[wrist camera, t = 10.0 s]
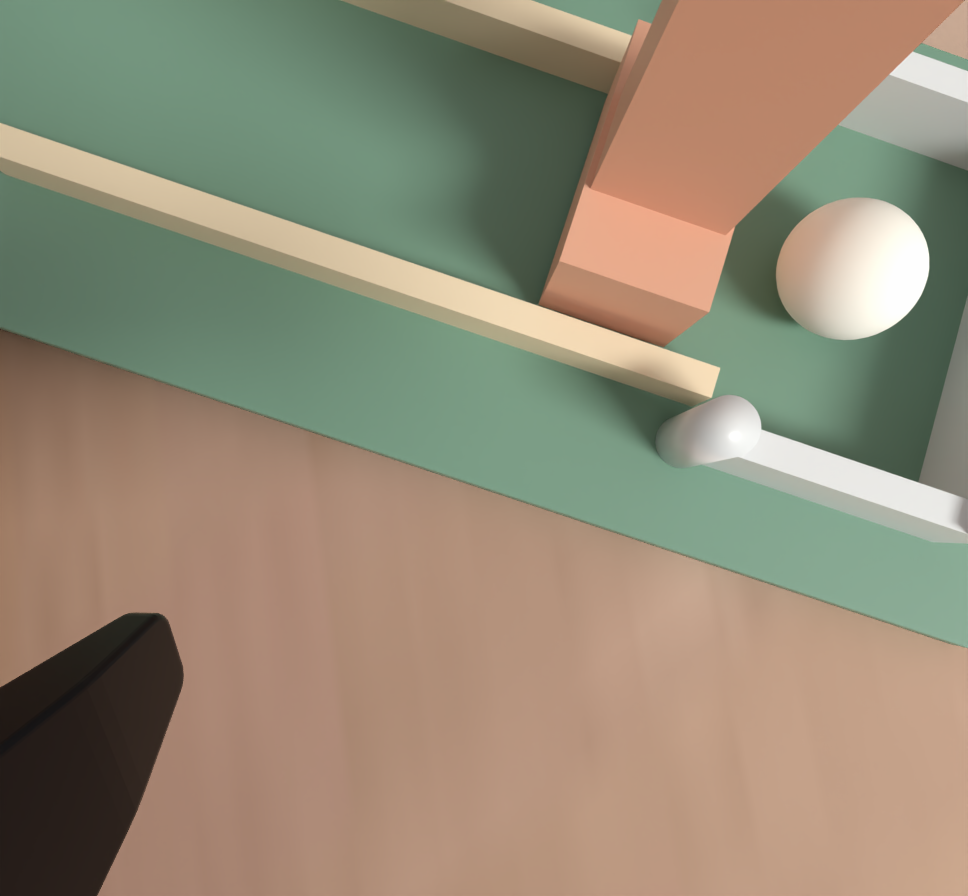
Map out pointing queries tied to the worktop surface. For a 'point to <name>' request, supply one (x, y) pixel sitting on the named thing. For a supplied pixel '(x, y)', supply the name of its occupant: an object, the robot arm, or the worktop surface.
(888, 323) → the ball
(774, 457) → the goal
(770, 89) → the player
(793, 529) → the board
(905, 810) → the worktop surface
